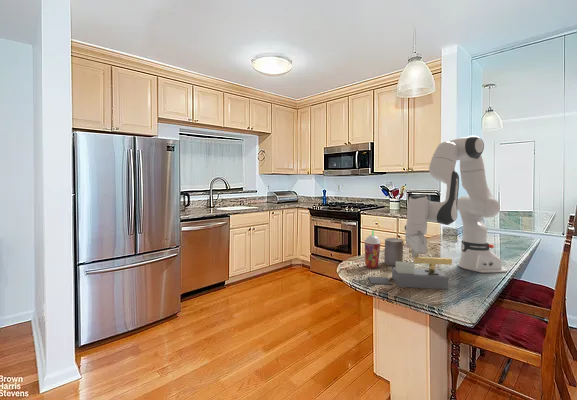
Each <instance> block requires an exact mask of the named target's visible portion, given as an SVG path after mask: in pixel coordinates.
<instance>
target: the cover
mask: <svg viewBox="0 0 577 400" xmlns="http://www.w3.org/2000/svg"><path fill="white" fill-rule="evenodd" d="M394 267H395V270H396V271H397V272H398V273H406V274H414V268H415V263H414V262H412V261H403V262H400V261H396V266H394Z"/></svg>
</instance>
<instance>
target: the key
mask: <svg viewBox="0 0 577 400" xmlns="http://www.w3.org/2000/svg"><path fill="white" fill-rule="evenodd" d="M412 260H413V262H412V263H413V264H425V265H428V269H429V273H435V269H436V265H445V266H446V265H450V266H451V265H453V264H452V263H453V259H452V258H451V257H431V256H418V257H414V259H413V258H412Z"/></svg>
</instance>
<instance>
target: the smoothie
mask: <svg viewBox="0 0 577 400" xmlns="http://www.w3.org/2000/svg"><path fill="white" fill-rule="evenodd" d="M374 232H375V231H374V229H373V230H372V231H371V235H368V236H367V237H366V239H364V264H365V267H366V268H368V269H377V268H378V266H379V261H380V260H379V259H380V251H381V244H382V243H381V241H380V239H379V237H378V236H377V235H375V233H374Z"/></svg>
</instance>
